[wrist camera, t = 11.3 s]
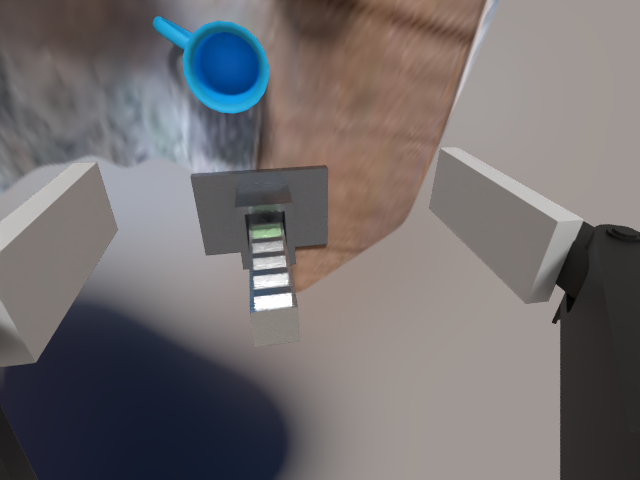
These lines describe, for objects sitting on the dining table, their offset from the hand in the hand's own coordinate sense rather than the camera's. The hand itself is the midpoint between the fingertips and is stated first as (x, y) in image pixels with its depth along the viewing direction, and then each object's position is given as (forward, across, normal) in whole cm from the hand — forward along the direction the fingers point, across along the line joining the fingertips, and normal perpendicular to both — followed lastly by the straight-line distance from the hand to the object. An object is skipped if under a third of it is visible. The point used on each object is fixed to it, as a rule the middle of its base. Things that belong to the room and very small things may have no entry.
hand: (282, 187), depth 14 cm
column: (+26, 0, -17) cm, 31 cm away
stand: (+34, 0, -17) cm, 38 cm away
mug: (+35, -5, +3) cm, 35 cm away
